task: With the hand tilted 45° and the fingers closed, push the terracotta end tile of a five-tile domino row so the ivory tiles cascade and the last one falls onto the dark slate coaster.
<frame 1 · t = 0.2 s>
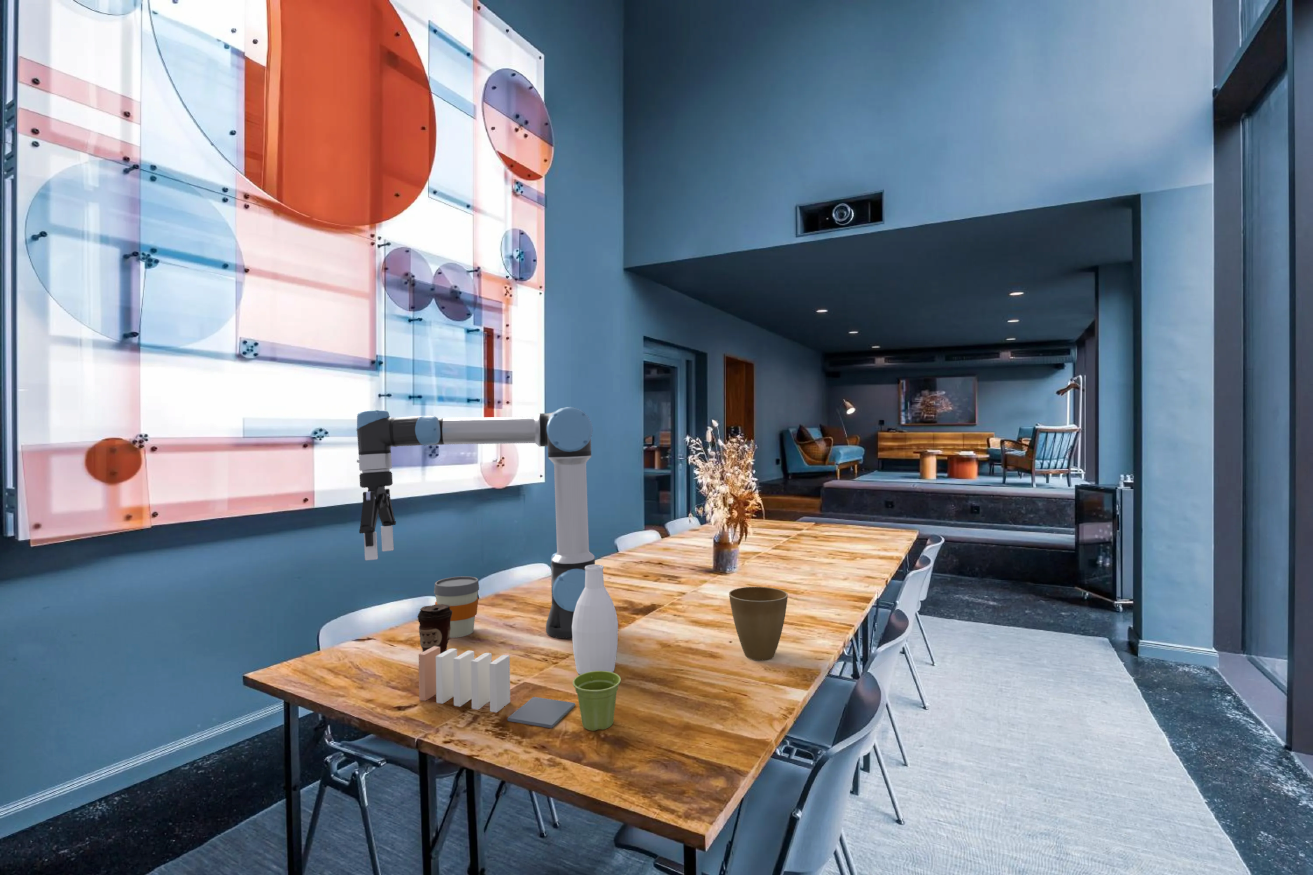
hand: (380, 555, 149), 27 cm above the table, tool pointing down, fingers open, 13 cm apart
plant pot: (758, 655, 151), on the table
coffee cup: (435, 657, 153), on the table
domino 1: (430, 695, 130), on the table
domino 4: (482, 703, 125), on the table
domino 5: (500, 706, 124), on the table
slate coaster: (542, 712, 121), on the table
reusable coffee cup: (457, 633, 172), on the table
plant pot 2: (597, 724, 116), on the table
bottle: (595, 672, 142), on the table
domino 3: (464, 700, 127), on the table
domino 2: (447, 698, 128), on the table
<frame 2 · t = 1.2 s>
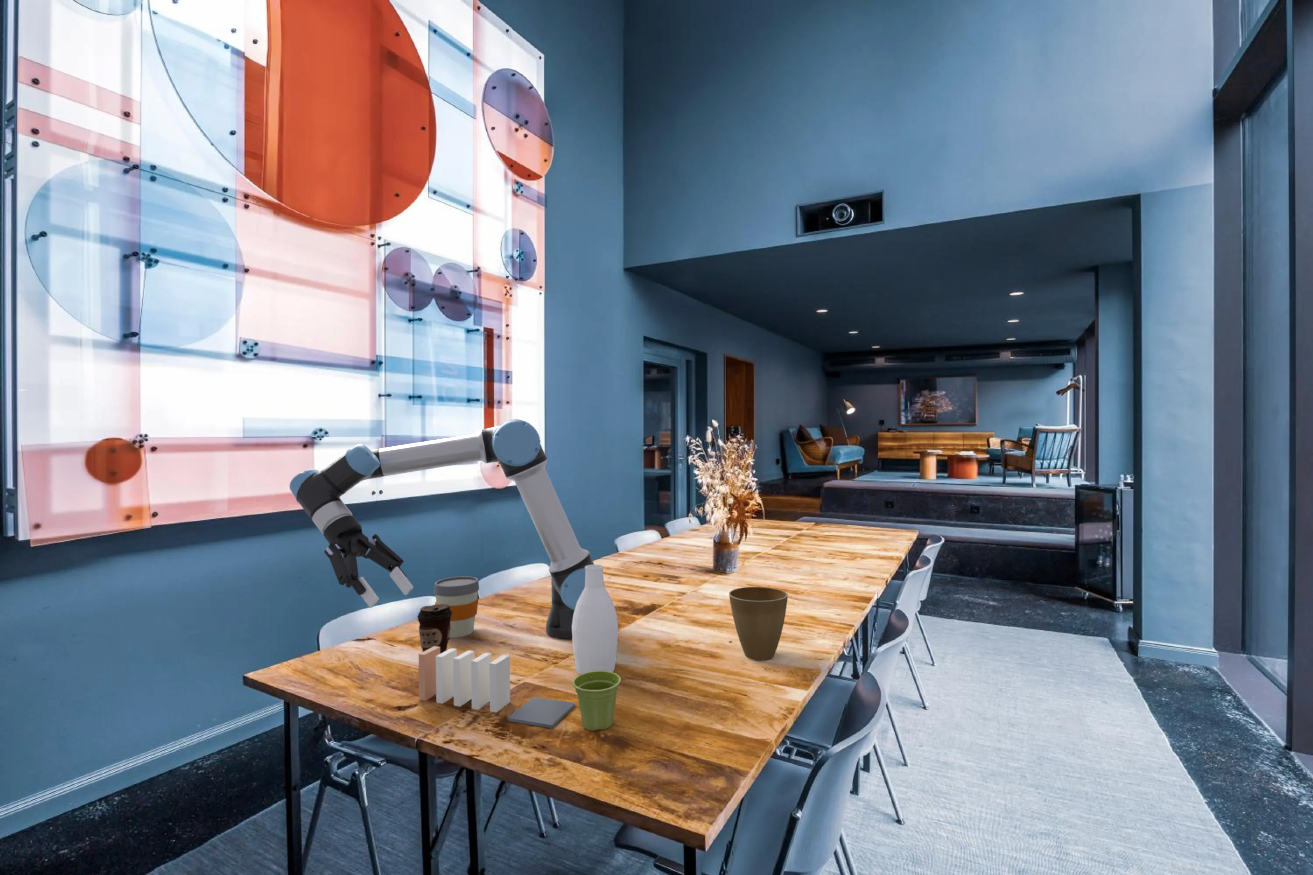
hand: (392, 597, 133), 21 cm above the table, tool tilted 45°, fingers open, 10 cm apart
nothing on the table moved.
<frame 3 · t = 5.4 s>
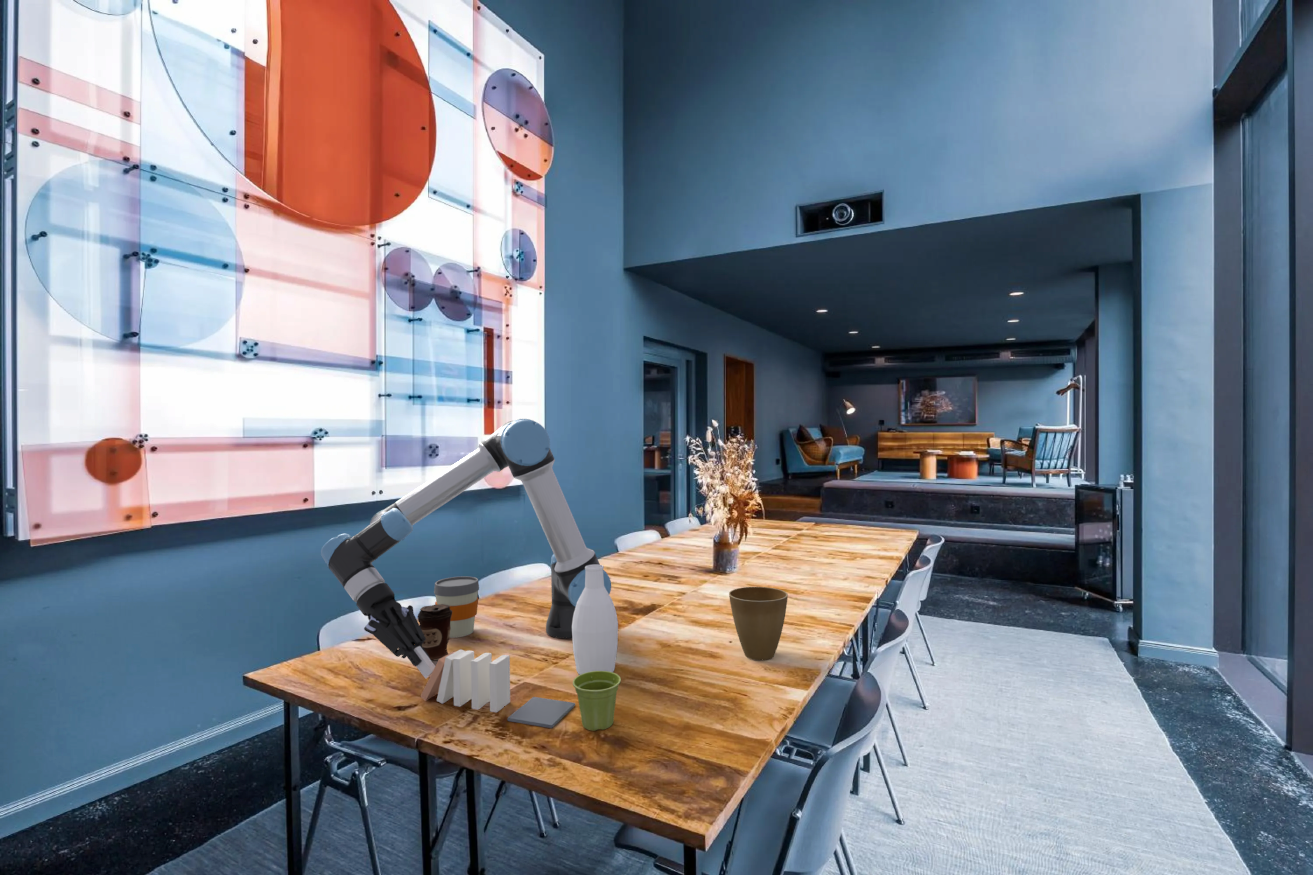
hand: (431, 673, 129), 5 cm above the table, tool tilted 45°, fingers closed
domino 1: (430, 693, 130), on the table, tilted 30°
domino 2: (447, 697, 128), on the table, tilted 15°
everything else where it was.
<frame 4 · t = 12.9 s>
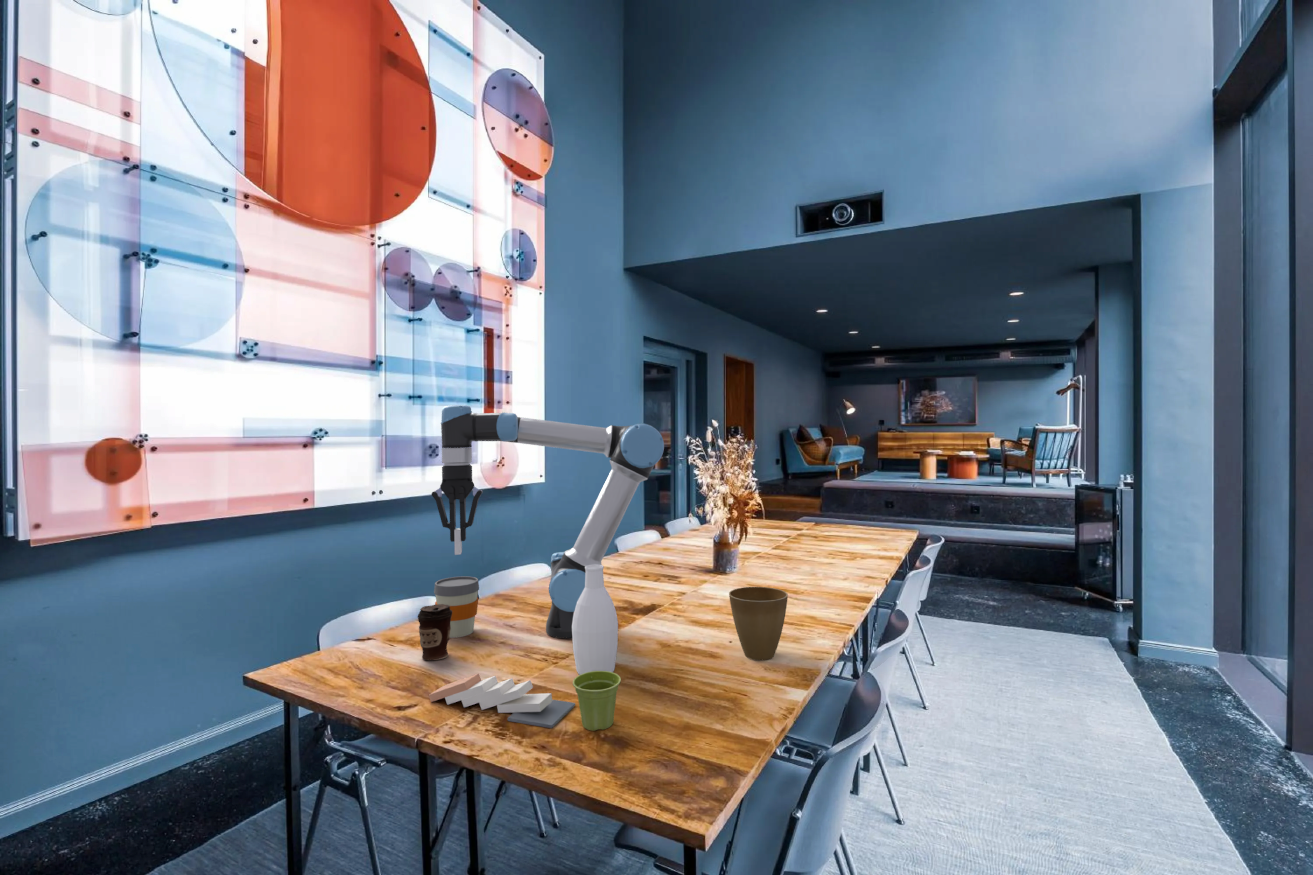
hand: (458, 553, 155), 26 cm above the table, tool pointing down, fingers closed
domino 1: (437, 693, 129), point 1 cm above the table, tilted 68°, touching domino 2
domino 4: (487, 700, 125), point 1 cm above the table, tilted 68°, touching domino 3, domino 5
domino 5: (504, 703, 124), point 1 cm above the table, tilted 81°, touching domino 4, slate coaster
domino 3: (470, 698, 126), point 1 cm above the table, tilted 68°, touching domino 2, domino 4
domino 2: (453, 695, 128), point 1 cm above the table, tilted 68°, touching domino 1, domino 3
everything else where it was.
at the end: domino 5 tilted 81°; domino 1 tilted 68° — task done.
